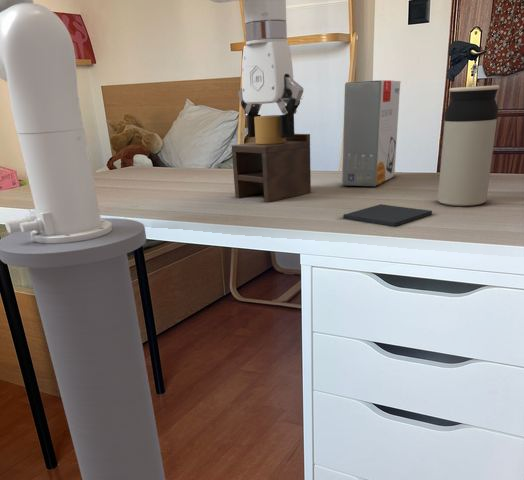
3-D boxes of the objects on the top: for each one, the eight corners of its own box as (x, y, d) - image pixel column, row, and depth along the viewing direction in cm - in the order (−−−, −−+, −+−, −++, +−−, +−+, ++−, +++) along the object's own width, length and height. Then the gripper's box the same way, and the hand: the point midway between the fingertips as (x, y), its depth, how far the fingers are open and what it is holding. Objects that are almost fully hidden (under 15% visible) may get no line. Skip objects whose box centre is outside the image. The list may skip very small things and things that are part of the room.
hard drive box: (376, 187, 109) (380, 80, 101) (341, 186, 113) (342, 82, 104) (395, 176, 121) (401, 79, 113) (363, 175, 125) (366, 81, 116)
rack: (268, 202, 101) (265, 139, 96) (235, 197, 108) (230, 138, 103) (310, 192, 108) (310, 133, 103) (277, 188, 115) (275, 133, 110)
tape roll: (270, 144, 100) (268, 116, 98) (249, 144, 104) (247, 117, 102) (292, 141, 104) (291, 114, 101) (271, 141, 108) (270, 114, 105)
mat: (395, 226, 78) (395, 222, 78) (343, 218, 85) (343, 214, 85) (431, 214, 84) (432, 210, 84) (380, 207, 91) (380, 204, 91)
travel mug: (480, 208, 86) (495, 85, 79) (431, 205, 90) (441, 88, 83) (490, 199, 92) (505, 84, 85) (444, 197, 96) (454, 87, 89)
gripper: (220, 40, 99) (228, 138, 107) (284, 28, 88) (288, 139, 95) (250, 40, 104) (255, 134, 111) (315, 29, 92) (316, 135, 100)
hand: (270, 136), depth 103 cm, fingers open, 8 cm apart
